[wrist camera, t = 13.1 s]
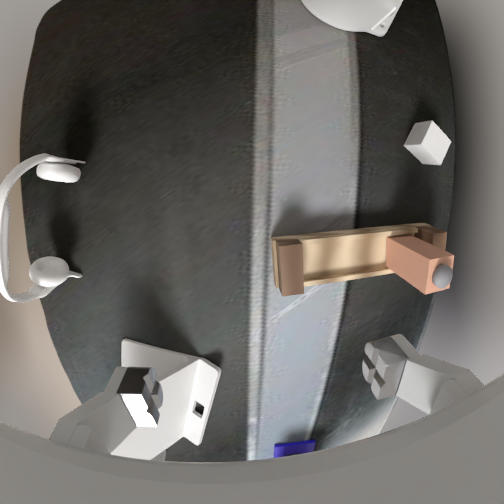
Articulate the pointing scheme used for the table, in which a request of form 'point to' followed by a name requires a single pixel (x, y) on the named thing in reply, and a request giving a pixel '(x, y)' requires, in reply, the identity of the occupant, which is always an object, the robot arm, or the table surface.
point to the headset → (42, 270)
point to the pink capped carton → (419, 263)
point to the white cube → (427, 143)
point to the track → (339, 254)
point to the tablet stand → (170, 398)
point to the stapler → (293, 448)
